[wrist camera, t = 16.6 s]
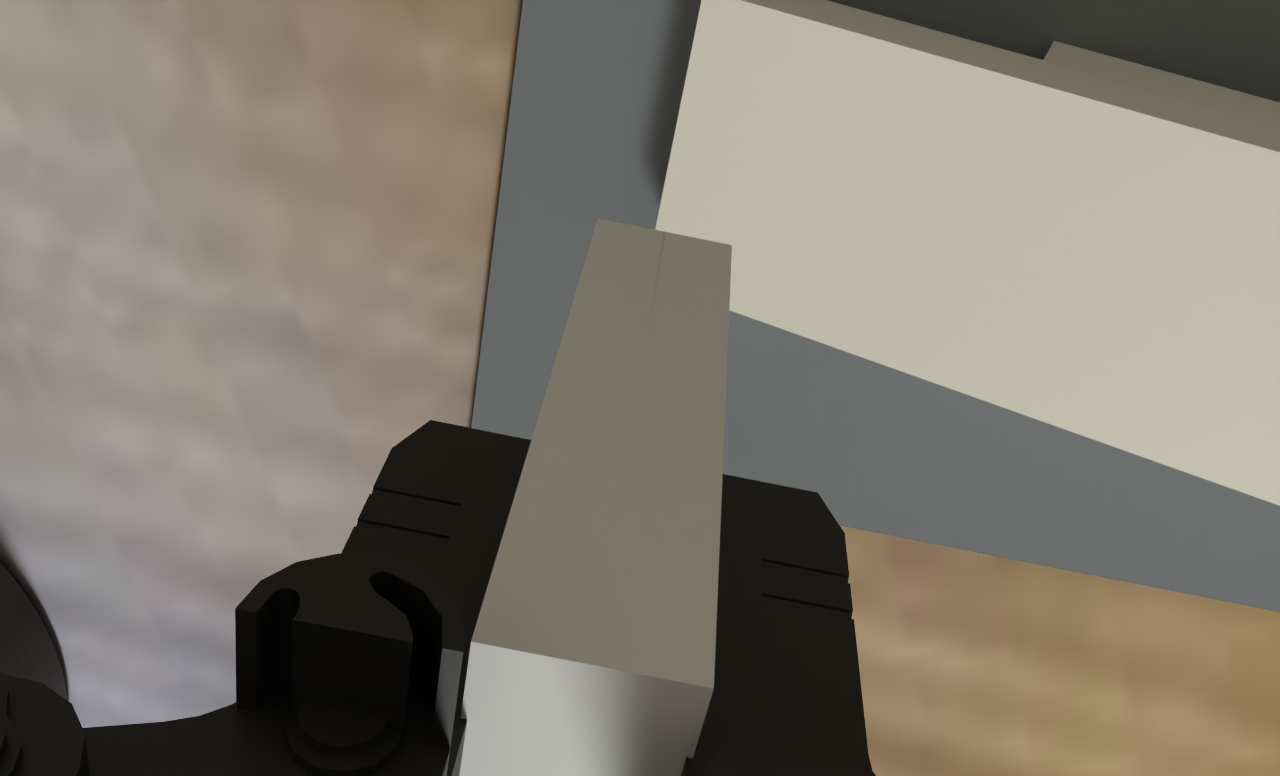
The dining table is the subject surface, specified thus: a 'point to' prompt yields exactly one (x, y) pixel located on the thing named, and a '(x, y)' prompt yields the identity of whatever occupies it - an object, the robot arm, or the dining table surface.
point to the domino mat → (834, 379)
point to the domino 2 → (1164, 82)
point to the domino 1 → (993, 226)
